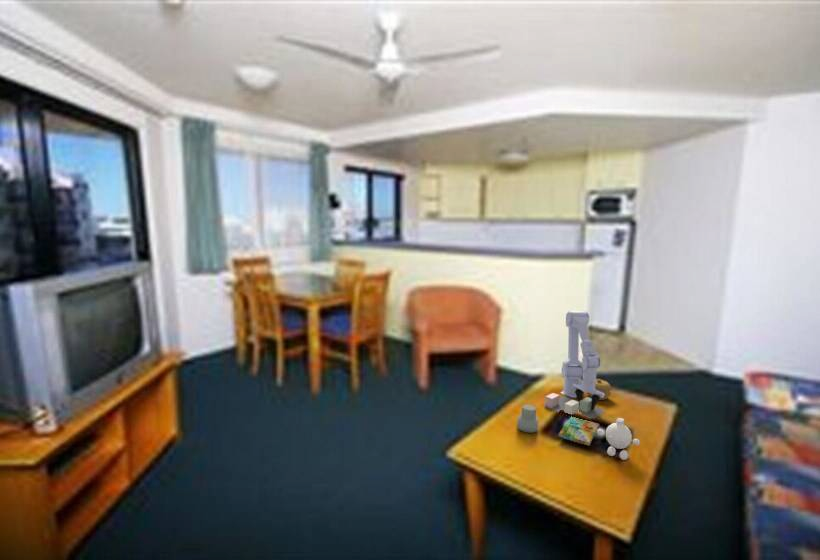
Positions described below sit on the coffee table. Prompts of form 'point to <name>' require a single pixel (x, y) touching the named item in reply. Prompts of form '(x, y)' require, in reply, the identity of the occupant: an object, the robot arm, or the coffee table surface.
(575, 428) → the puzzle game
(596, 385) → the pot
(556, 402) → the rose brick
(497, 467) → the coffee table surface
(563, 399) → the mat
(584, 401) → the sage brick
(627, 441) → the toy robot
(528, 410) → the air freshener
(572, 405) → the cream brick
